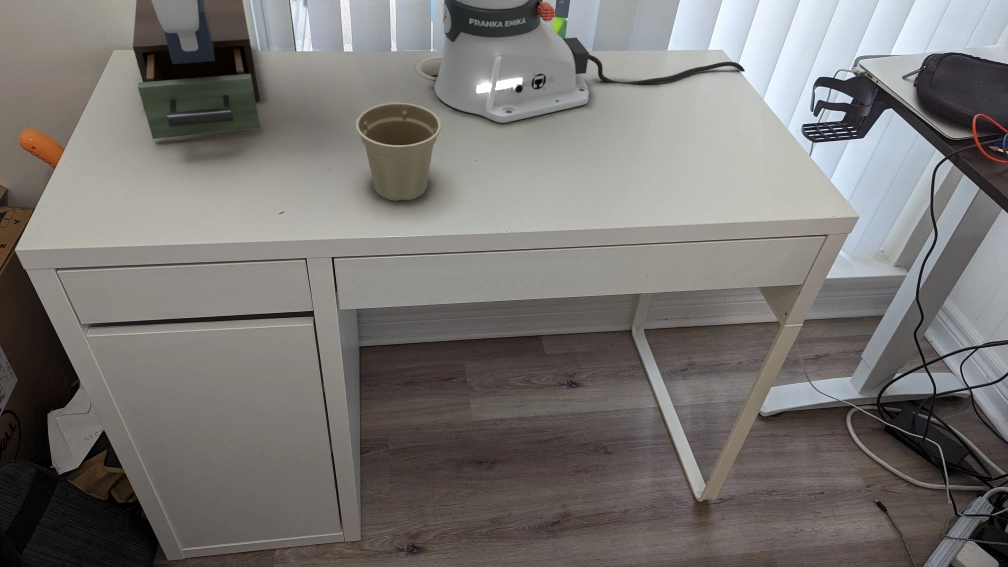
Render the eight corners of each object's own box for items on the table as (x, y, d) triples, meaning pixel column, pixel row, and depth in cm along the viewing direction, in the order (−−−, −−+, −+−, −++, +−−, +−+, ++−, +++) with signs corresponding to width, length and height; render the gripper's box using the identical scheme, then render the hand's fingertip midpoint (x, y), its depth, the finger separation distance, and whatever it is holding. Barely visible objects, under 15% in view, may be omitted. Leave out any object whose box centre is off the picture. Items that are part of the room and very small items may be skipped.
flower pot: (427, 217, 82) (427, 152, 76) (348, 202, 83) (342, 137, 77) (448, 173, 89) (450, 110, 83) (375, 159, 90) (372, 96, 84)
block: (213, 44, 91) (203, -4, 87) (215, 61, 87) (204, 12, 83) (172, 47, 89) (160, -2, 85) (172, 64, 86) (159, 14, 82)
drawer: (263, 149, 88) (254, 98, 84) (152, 161, 85) (136, 108, 80) (251, 75, 102) (242, 28, 97) (154, 83, 98) (141, 34, 94)
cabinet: (260, 100, 99) (249, 38, 93) (150, 110, 95) (132, 46, 89) (251, 50, 110) (241, -8, 104) (152, 57, 106) (136, -3, 100)
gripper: (132, -114, 84) (162, 5, 93) (125, -54, 70) (161, 78, 79) (190, -115, 86) (214, 2, 95) (194, -56, 72) (222, 73, 81)
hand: (190, 37), depth 87 cm, fingers closed on block, 5 cm apart
